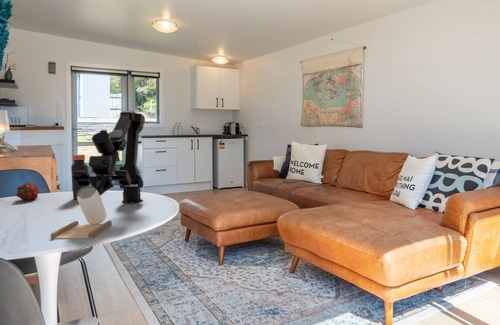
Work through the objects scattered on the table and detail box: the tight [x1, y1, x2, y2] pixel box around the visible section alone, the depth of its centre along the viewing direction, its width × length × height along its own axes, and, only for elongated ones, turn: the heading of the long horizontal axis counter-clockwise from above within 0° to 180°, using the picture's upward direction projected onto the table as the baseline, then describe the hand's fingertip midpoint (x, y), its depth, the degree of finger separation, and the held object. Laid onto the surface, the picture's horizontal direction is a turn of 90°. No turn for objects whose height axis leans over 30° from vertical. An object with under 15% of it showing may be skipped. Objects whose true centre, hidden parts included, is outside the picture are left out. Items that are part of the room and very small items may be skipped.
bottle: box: [70, 154, 90, 201], centre depth 162 cm, size 7×7×20 cm
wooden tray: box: [50, 220, 113, 240], centre depth 111 cm, size 14×12×2 cm
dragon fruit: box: [16, 182, 40, 202], centre depth 162 cm, size 8×8×12 cm
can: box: [76, 185, 107, 224], centre depth 117 cm, size 6×6×12 cm
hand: (95, 198), depth 119 cm, fingers closed
